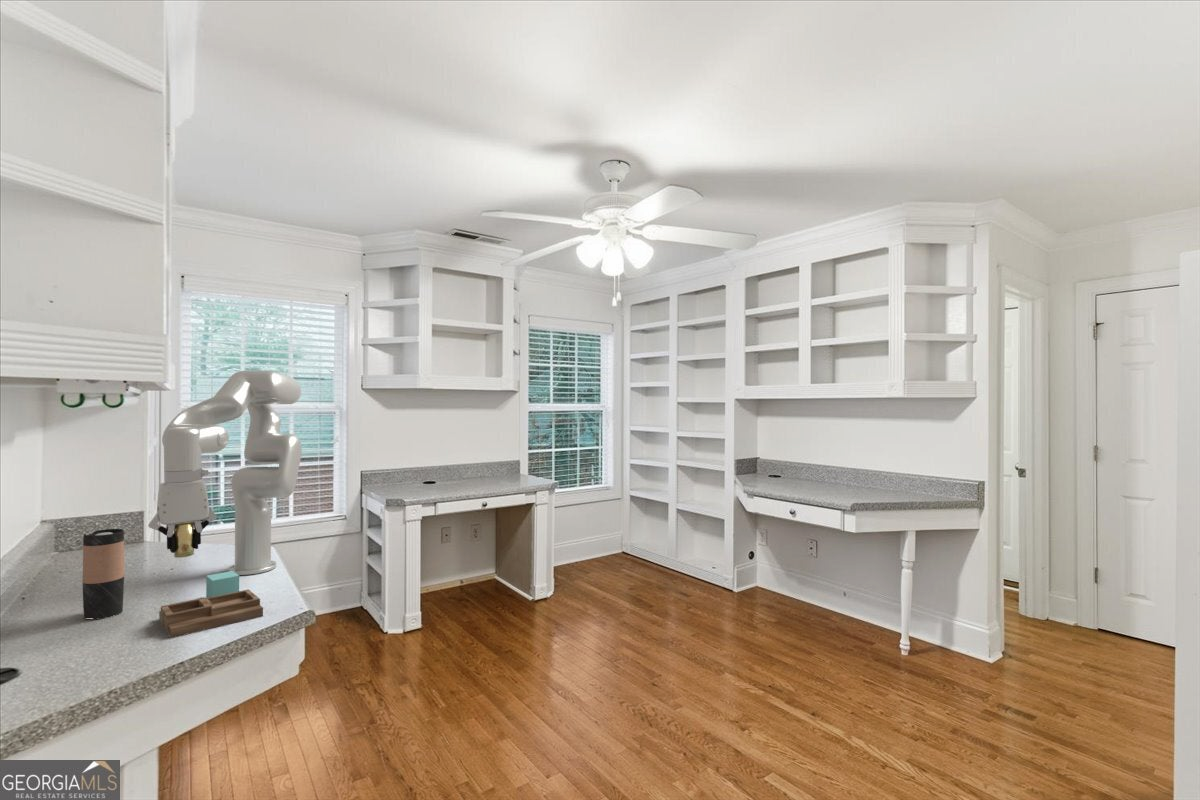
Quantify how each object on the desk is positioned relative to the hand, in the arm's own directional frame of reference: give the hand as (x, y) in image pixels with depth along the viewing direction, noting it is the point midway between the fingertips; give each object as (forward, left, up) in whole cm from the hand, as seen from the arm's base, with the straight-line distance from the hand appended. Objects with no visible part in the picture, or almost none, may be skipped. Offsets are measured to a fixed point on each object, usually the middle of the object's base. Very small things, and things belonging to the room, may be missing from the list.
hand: (184, 548), depth 142 cm
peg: (0, 0, -2) cm, 2 cm away
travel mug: (-10, -14, -15) cm, 23 cm away
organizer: (+11, +4, -15) cm, 19 cm away
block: (-3, +9, -15) cm, 18 cm away
